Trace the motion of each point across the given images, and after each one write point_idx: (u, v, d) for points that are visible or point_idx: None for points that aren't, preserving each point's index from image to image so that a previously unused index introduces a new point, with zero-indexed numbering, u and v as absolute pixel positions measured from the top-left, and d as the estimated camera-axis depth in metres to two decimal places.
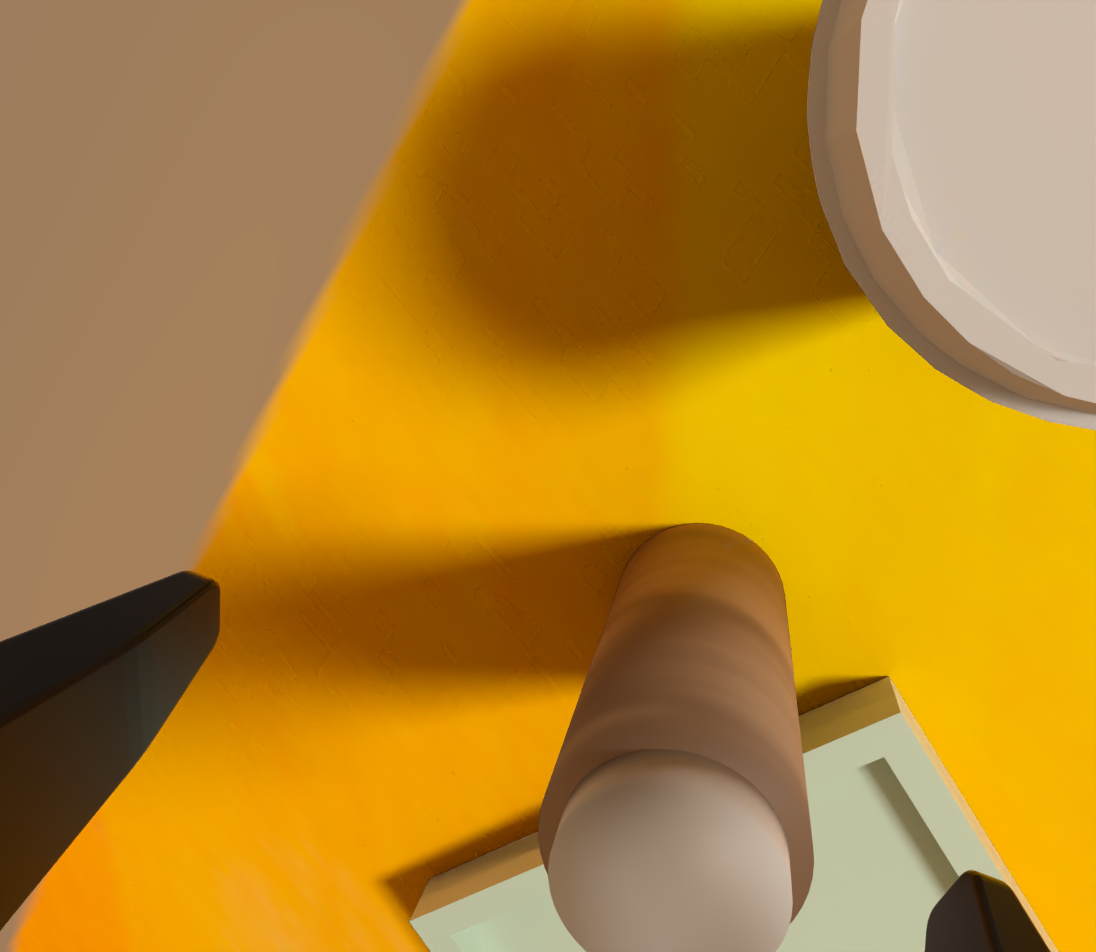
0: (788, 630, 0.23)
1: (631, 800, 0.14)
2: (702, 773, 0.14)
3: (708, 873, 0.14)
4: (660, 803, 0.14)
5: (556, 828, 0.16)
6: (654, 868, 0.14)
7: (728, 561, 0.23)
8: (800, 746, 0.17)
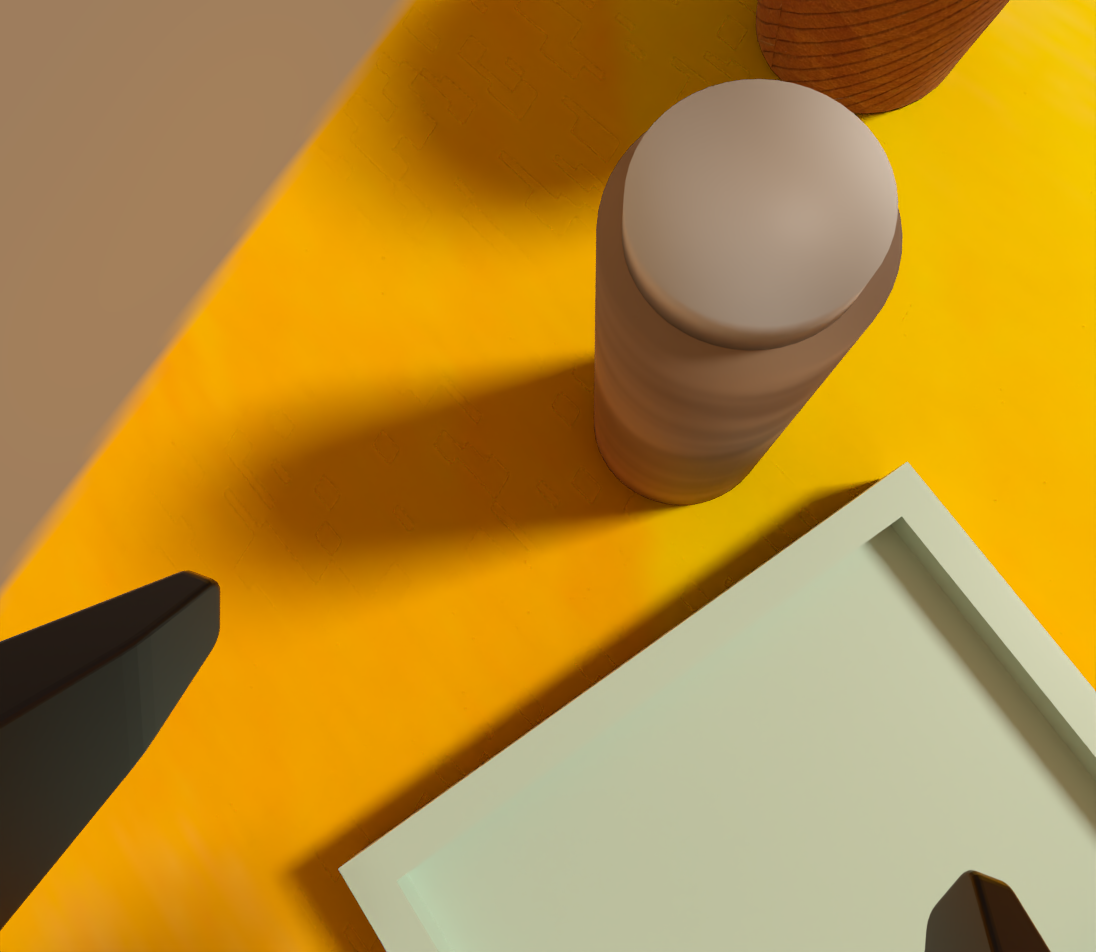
0: None
1: (710, 104, 0.13)
2: None
3: (802, 169, 0.13)
4: (741, 101, 0.13)
5: (617, 228, 0.14)
6: (743, 175, 0.13)
7: None
8: None
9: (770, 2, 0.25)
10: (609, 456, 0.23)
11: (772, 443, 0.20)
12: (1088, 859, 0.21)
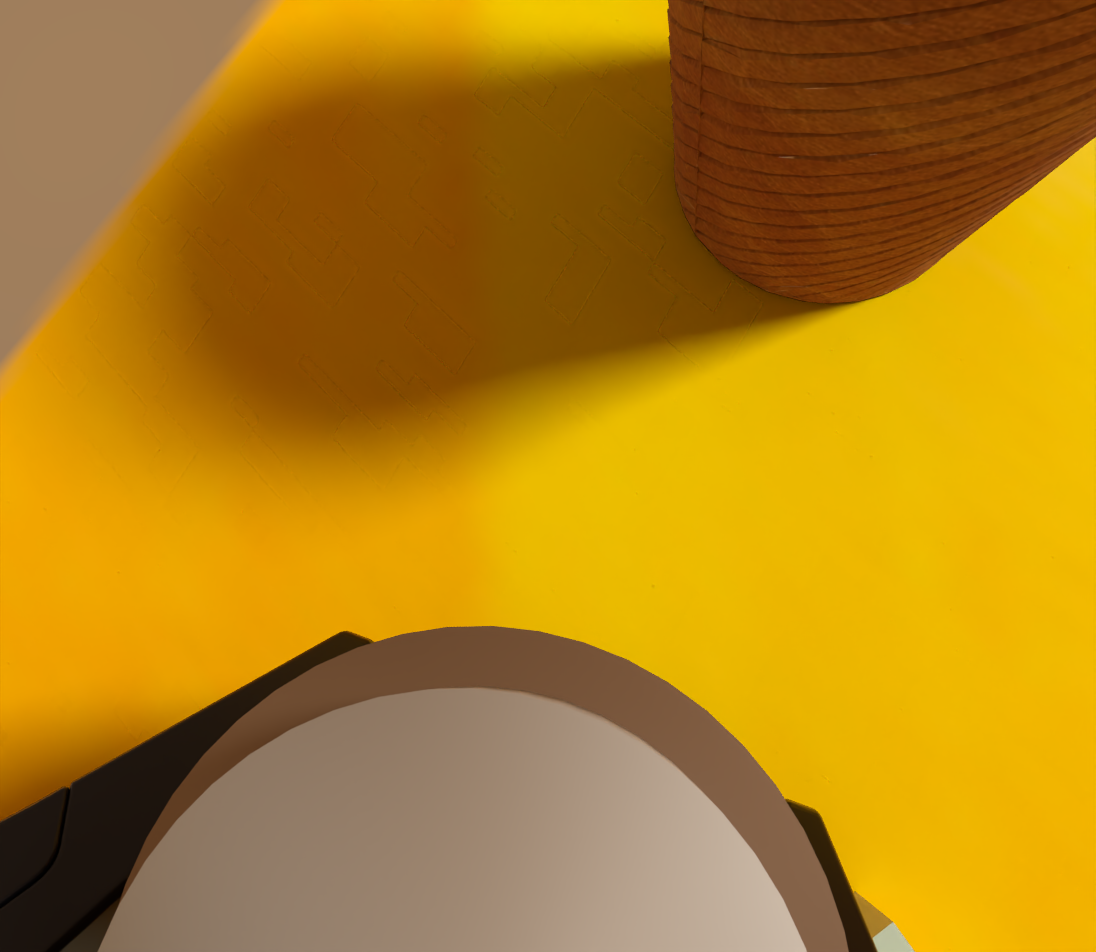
0: None
1: (334, 762, 0.05)
2: (533, 695, 0.05)
3: None
4: (416, 757, 0.05)
5: None
6: None
7: None
8: None
9: (683, 154, 0.16)
10: None
11: None
12: None
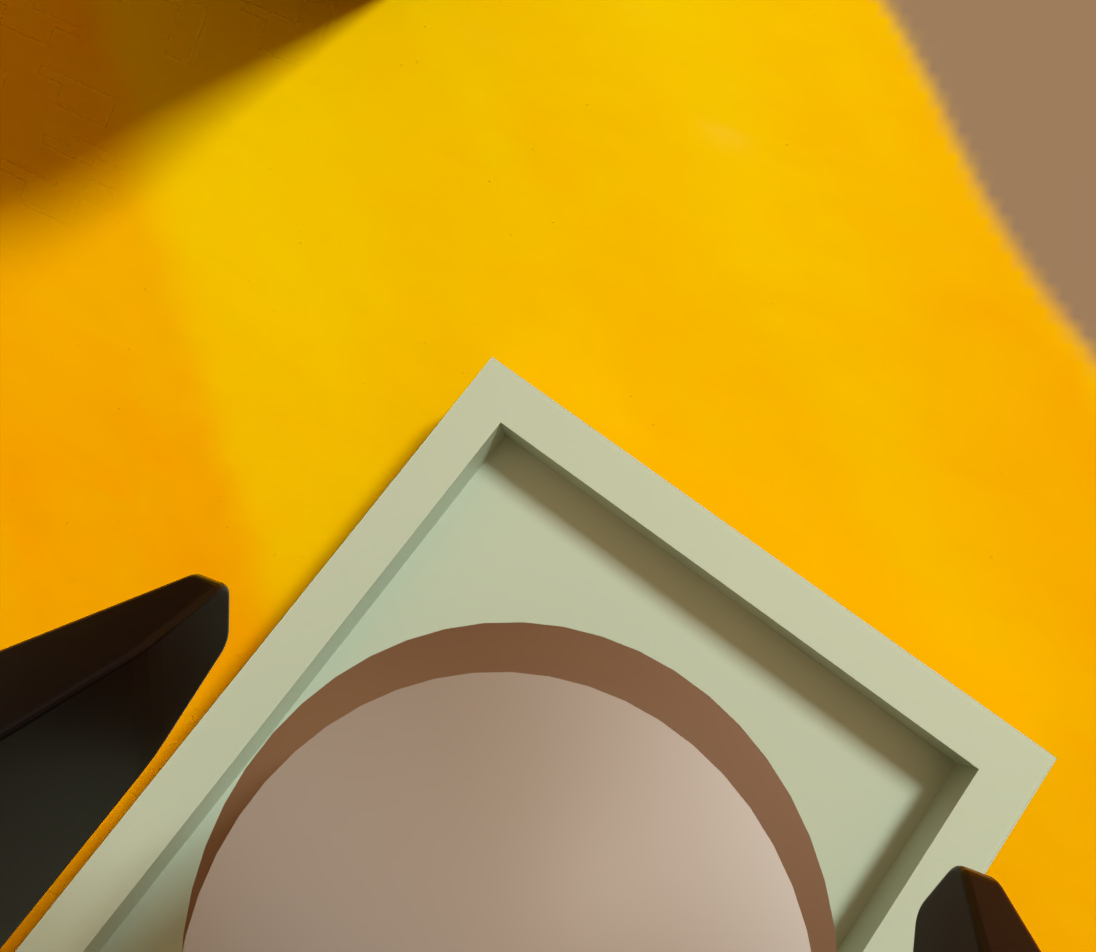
0: None
1: (398, 733, 0.06)
2: None
3: (596, 922, 0.06)
4: (467, 729, 0.06)
5: None
6: (459, 933, 0.06)
7: None
8: None
9: None
10: None
11: None
12: (827, 752, 0.17)
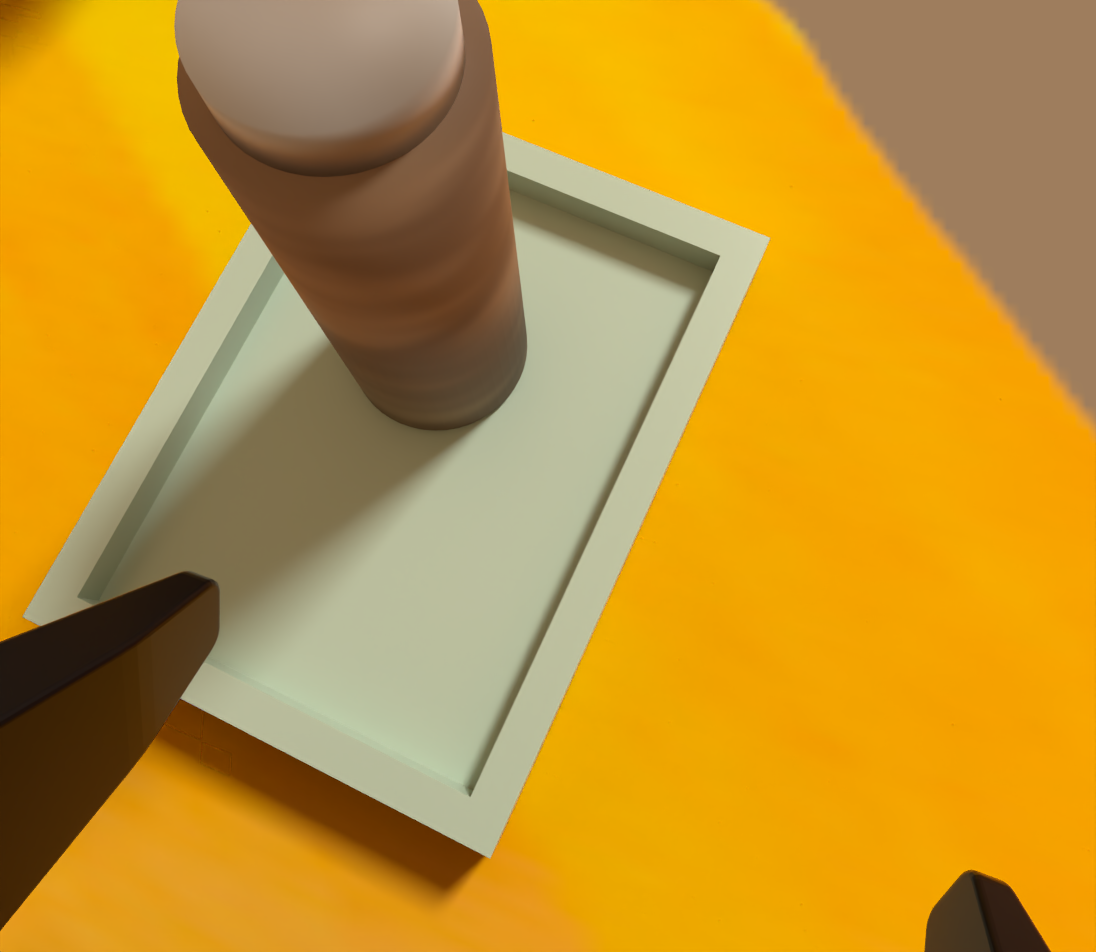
0: None
1: None
2: None
3: None
4: None
5: None
6: None
7: None
8: None
9: None
10: (361, 386, 0.22)
11: (499, 334, 0.20)
12: (627, 285, 0.24)
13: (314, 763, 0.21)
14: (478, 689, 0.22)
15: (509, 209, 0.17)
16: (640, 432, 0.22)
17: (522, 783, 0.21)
